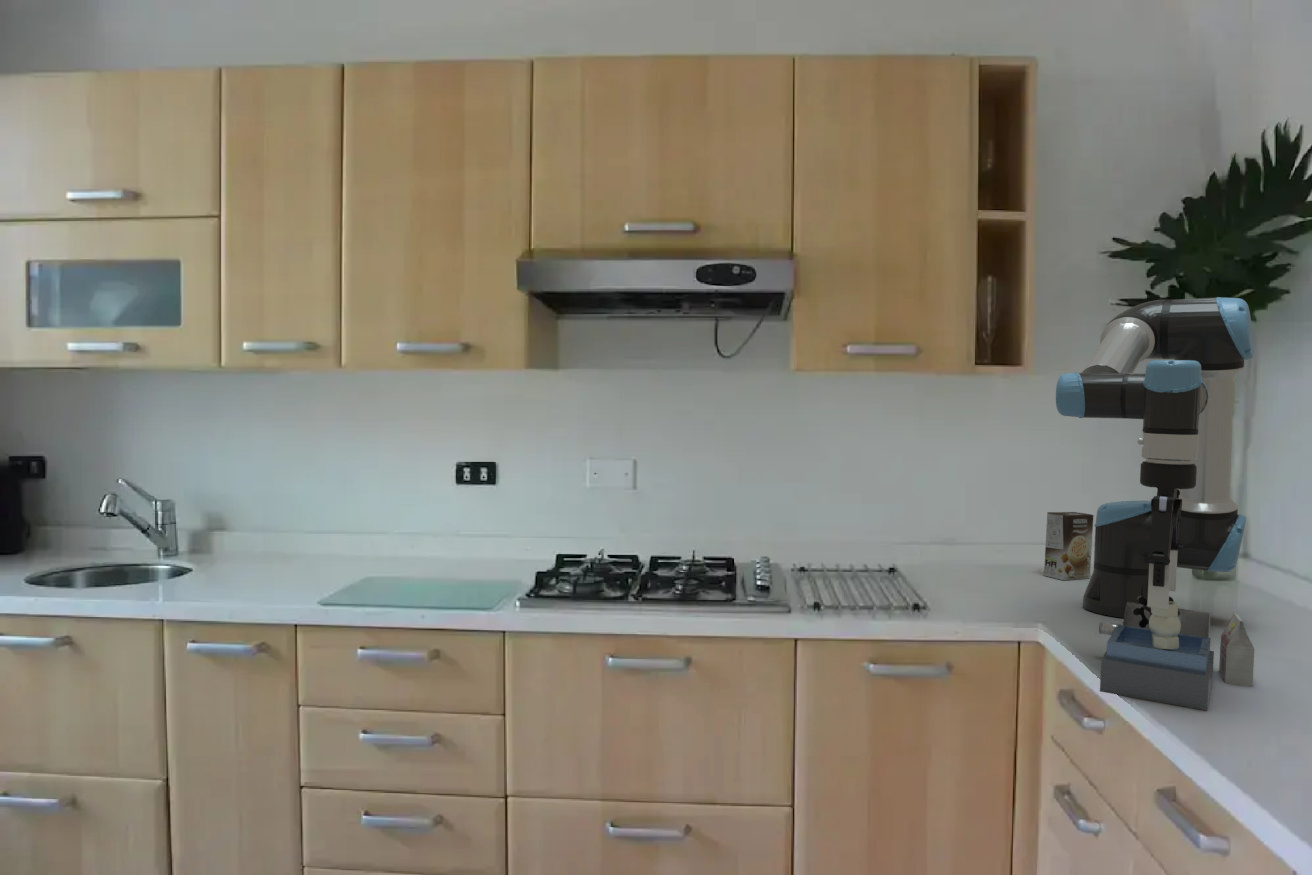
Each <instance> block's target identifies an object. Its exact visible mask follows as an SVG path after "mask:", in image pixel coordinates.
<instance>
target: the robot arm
mask: <svg viewBox="0 0 1312 875" xmlns="http://www.w3.org/2000/svg"><path fill="white" fill-rule="evenodd" d="M1251 317H1252V316H1251V312H1250V308H1249V305H1248V303H1247V301H1245V300H1244V299H1243V298H1239V297H1219V296H1217V297H1201V298H1199V297H1198V298H1184V299H1183V298H1182V299H1180V298H1179V299H1157V300H1156V299H1155V300H1151V301H1150V300H1149V301H1147V302H1143V303H1142V302H1141V303H1139V304H1137V305H1135V306H1133V307H1130V308H1128V309H1126V310H1124V311H1123V312H1121V313H1119V314H1117V315H1116V316H1115V317H1113V318H1112V319H1111V320H1110V321H1109V322H1108V323H1107V324H1106V325H1105V327H1104V328H1103V330H1102V332H1101V334H1100V339H1099V343H1100V344H1099V345H1098V347H1097V349H1096V351H1095V352H1094V353H1093V355H1092V356H1091V358H1090V359H1089V361H1088V363H1087V364H1086V365H1085V366H1084V369H1083V370H1082V372H1078V371H1077V372H1076V371H1074V372H1070V373H1068V372H1067V373H1062V374H1060V376H1059V378H1058V379H1057V382H1056V388H1055V406H1056V410H1057V412H1058V414H1060V415H1061V416H1062V417H1073V418H1079V419H1085V418H1087V419H1089V418H1090V419H1092V418H1093V419H1096V418H1097V419H1127V420H1130V419H1131V420H1143V422H1142V423H1143V424H1142V425H1143V426H1142V438H1141V437H1140V438H1138V440H1137V444H1138V445H1143V446H1142V447H1141V457H1142V458H1143V459H1145V460H1144V461H1142V463H1140V474H1139V475H1140V476H1139V482H1140V484H1141V485H1142V486H1143V487H1149V488H1156V489H1157V492H1156V495H1154V496H1153V497H1152V498H1151V500H1124V501H1123V500H1122V501H1112V502H1105V503H1102V504H1101V505H1099V506H1098V507H1097V510H1096V519H1095V523H1094V527H1095V530H1094V531H1095V532H1094V550H1093V551H1094V553H1093V554H1094V555H1093V556H1094V558H1093V572H1092V575H1090V579H1089V581H1088V583H1087V586H1086V589H1085V591H1084V594H1083V597H1082V607H1083V608H1084V609H1085V610H1086V611H1090V612H1092V613H1094V614H1095V613H1096V614H1099V615H1103V616H1110V617H1116V618H1123V619H1124V614H1125V608H1126V604H1127V602H1132V603H1139V601H1138V597H1139V596H1144V597H1145V599H1148V602H1147V606H1149V607H1156V608H1164V609H1168V606H1169V596H1170V592H1174V593H1175V592H1176V589H1177V574H1178V573H1177V570H1178V569H1179V568H1180V569H1186V570H1187V569H1190V570H1197V571H1198V570H1199V571H1205V572H1207V573H1208V572H1209V573H1210V572H1217V573H1218V572H1219V573H1220V572H1221V573H1229V572H1232V571H1234V569H1235V568H1236V566H1237V562H1238V559H1239V555H1240V551H1241V546H1242V541H1243V537H1244V532H1245V527H1246V522H1247V517H1246V515H1243V514H1239V513H1238V509H1239V508H1238V507H1239V505H1238V504H1237V503H1236V502H1235V501H1234V500H1232V498H1230V484H1231V463H1232V462H1231V461H1232V437H1233V436H1232V435H1233V434H1232V432H1233V412H1234V411H1233V409H1234V392H1235V391H1234V390H1235V389H1234V385H1235V377H1236V375H1238V374H1239V373H1240V372H1242V371H1243V370H1244V369H1245V361H1246V360H1247V361H1249V360H1251V359H1252V358H1254V355H1255V354H1254V353H1255V351H1254V334H1253V326H1252V319H1251ZM1147 359H1150V360H1151V361H1149V362H1148V363H1147V364H1146V366H1145V373H1135V371H1136V370H1137V367H1138V366H1139V363H1141V362H1143V361H1145V360H1147ZM1152 359H1154V360H1152ZM1155 359H1156V360H1155ZM1140 604H1141V603H1140Z"/></svg>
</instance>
